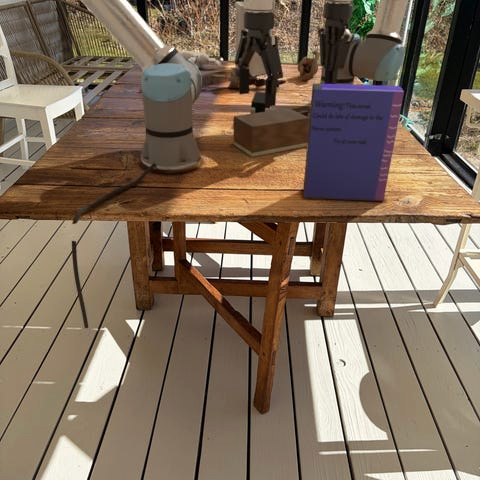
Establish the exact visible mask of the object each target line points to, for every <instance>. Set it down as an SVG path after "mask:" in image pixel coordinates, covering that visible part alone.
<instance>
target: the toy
mask: <svg viewBox="0 0 480 480" xmlns="http://www.w3.org/2000/svg"><path fill="white" fill-rule="evenodd" d="M178 52H179V53H180V54H181V55H182V56H183V57H184V58H185V59H188V60H190V61H192V62H193V63H194V64H195V65H196V66H198V68H200V69H201V68H204V65H209V64H210V63H211V64H215V65H216V66H218V67H220V66H222V63H221V62H220V61H219V60H218V59H217V58H210V56H209V55H208V54H206V53H204V52H203V51H199V52H198V53H197V52H194V51H191V50H185V51H178Z"/></svg>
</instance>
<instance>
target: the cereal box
mask: <svg viewBox="0 0 480 480" xmlns="http://www.w3.org/2000/svg"><path fill="white" fill-rule="evenodd" d="M404 94H405V91H404V90H403V88H402V87H401V86H399V85H380V84H379V85H377V84H376V85H375V84H354V85H348V84H320V83H312V87H311V99H310V108H309V109H310V120H309V131H308V142H307V146H306V153H305V154H306V155H305V165H304V177H303V188H302V189H303V190H302V191H303V197H304V199H317V200H343V201H344V200H345V201H346V200H347V201H366V202H367V201H368V202H369V201H370V202H384V201H385V195H386V190H387V184H388V178H389V174H390V168H391V164H392V158H393V152H394V147H395V142H396V136H397V132H398V126H399V120H400V115H401V111H402V104H403V100H404V99H403V98H404Z"/></svg>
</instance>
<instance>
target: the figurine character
mask: <svg viewBox="0 0 480 480" xmlns="http://www.w3.org/2000/svg"><path fill="white" fill-rule="evenodd" d="M271 107H272V106H268V107H266V106H265V92H264V91H255V92H254V95H253V97H252V99H251V103H250V111H249V114H252V113H259V112H266V111H272V109H271Z"/></svg>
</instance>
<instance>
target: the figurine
mask: <svg viewBox="0 0 480 480" xmlns="http://www.w3.org/2000/svg"><path fill="white" fill-rule="evenodd" d="M230 69H231V72H230V73H231V74H230V76H229V75H225V74H213V73H211V74H210V78H209V85H212V84H213V83H214V79H215V78H216V79H223V80H227V81H229V84H228V88H229V89H239V69H237V68H235V67H232V66H231V67H230ZM266 79H267V78H265V77H262V78H261V77H257V76H252V75H251V73H250V72H249V87H250V86H255V87H256V88H262V87H266ZM286 83H287V80H285V79H278V80H277V89H278V88H280V86H281V85H284V84H286Z"/></svg>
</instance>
